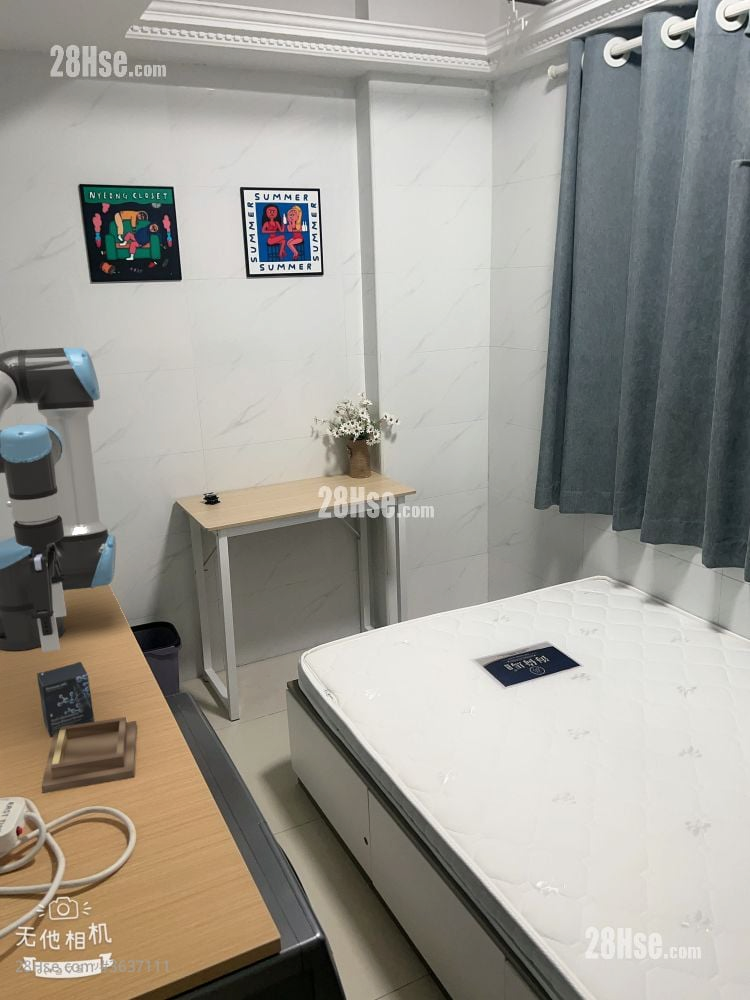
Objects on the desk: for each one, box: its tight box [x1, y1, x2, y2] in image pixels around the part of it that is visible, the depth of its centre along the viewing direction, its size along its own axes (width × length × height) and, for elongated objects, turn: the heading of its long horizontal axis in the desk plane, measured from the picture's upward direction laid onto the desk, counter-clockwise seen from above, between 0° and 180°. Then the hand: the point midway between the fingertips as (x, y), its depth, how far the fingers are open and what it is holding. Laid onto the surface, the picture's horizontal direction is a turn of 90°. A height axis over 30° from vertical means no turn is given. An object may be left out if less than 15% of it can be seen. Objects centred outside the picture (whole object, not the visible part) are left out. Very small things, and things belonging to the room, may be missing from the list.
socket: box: [41, 716, 138, 794], centre depth 128 cm, size 15×14×3 cm
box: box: [36, 661, 95, 738], centre depth 137 cm, size 8×6×11 cm
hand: (55, 632), depth 132 cm, fingers open, 13 cm apart
